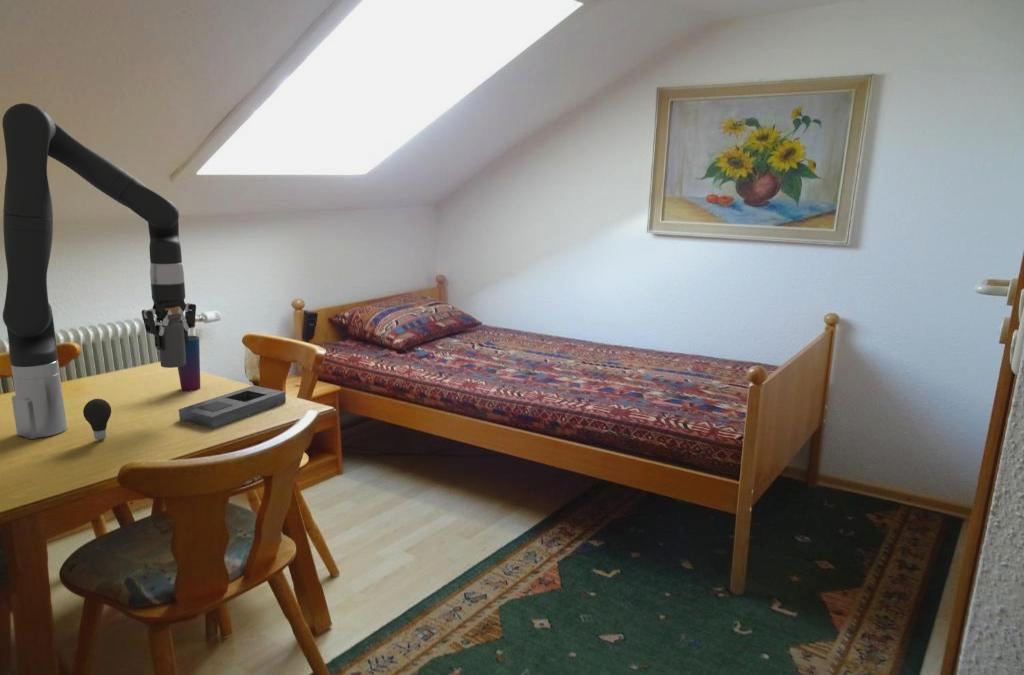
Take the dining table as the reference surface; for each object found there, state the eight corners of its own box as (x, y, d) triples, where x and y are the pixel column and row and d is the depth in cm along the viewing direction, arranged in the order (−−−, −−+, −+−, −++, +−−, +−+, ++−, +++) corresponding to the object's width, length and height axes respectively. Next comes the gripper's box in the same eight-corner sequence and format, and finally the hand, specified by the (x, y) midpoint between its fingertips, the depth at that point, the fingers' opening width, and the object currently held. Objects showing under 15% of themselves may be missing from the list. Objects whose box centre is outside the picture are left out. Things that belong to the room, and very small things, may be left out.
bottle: (155, 365, 180) (150, 307, 177) (175, 361, 185) (171, 303, 182) (171, 369, 177) (166, 309, 174) (191, 364, 182) (187, 306, 179)
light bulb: (108, 434, 170) (103, 394, 168) (118, 439, 167) (114, 398, 164) (82, 440, 166) (77, 399, 164) (92, 446, 162) (87, 404, 160)
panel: (212, 428, 174) (211, 416, 174) (179, 420, 180) (178, 408, 179) (285, 402, 195) (285, 391, 195) (254, 395, 201) (253, 385, 200)
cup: (172, 390, 205) (167, 339, 201) (189, 384, 211) (184, 334, 208) (192, 393, 203) (187, 341, 199) (208, 386, 209) (204, 336, 206)
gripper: (151, 285, 169) (156, 354, 172) (202, 279, 181) (206, 344, 185) (130, 282, 172) (136, 350, 176) (182, 276, 185) (186, 340, 188)
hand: (172, 347), depth 180 cm, fingers closed on bottle, 5 cm apart
